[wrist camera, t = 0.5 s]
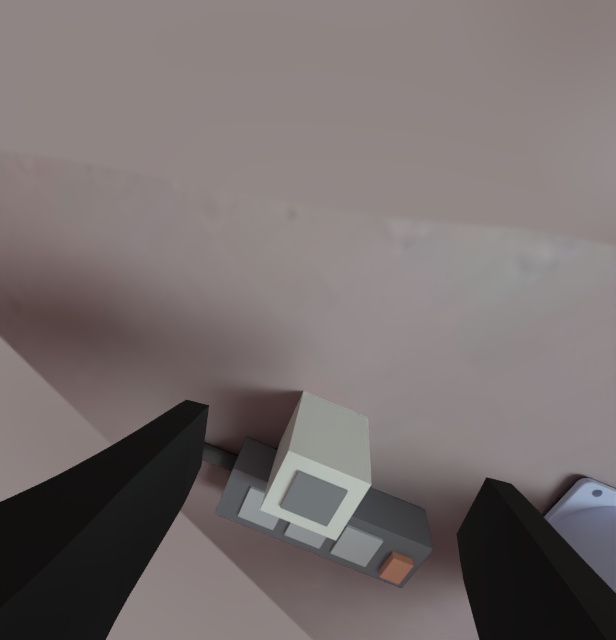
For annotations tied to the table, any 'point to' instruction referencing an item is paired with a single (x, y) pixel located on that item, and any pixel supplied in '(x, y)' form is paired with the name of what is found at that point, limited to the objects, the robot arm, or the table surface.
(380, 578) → the power strip
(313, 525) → the charger plug
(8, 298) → the table surface
